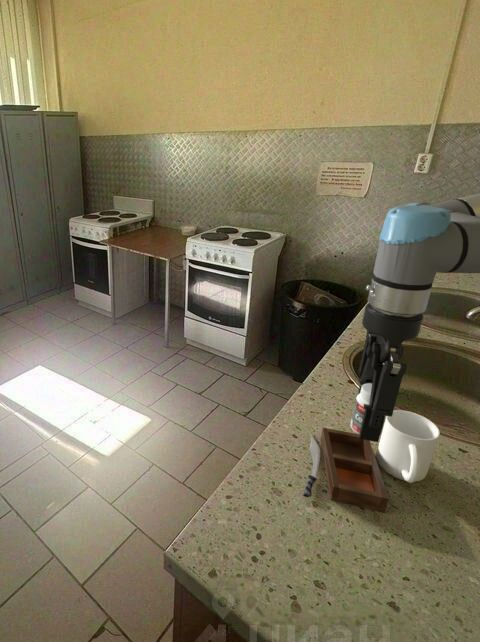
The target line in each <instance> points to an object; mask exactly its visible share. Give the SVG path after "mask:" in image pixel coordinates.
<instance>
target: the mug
mask: <svg viewBox="0 0 480 642" xmlns="http://www.w3.org/2000/svg"><path fill="white" fill-rule="evenodd" d="M440 436H441V432H440V429H439V427H438V426H437V425H436V424H435V423H434V422H433V421H432V420H431V419H429V418H427V417H425V416H423V415H420V414H419V413H417V412H416V413H415V412H413V411H408V410H402V409H397V410H396V409H395V410H393V414H392V416H391V417H390V416H386V418H385V422H384V425H383V429H382V432H381V435H380V438H379V441H378V447H377V450H376V462H377V464H378V466H380V467H381V468H382V469H383V470H384V471H385V472H386V473H387V474H389V475H390V476H392V477H394V478H396V479H398V480H401V481H404V482H407V483H410V484H413V483H415V482H421V481H422V480H424V479H425V478H426V476H427V474H428V472H429V470H430V466H431V464H432V460H433V457H434V454H435V451H436V448H437V445H438V442H439V439H440Z"/></svg>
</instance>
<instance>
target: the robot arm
mask: <svg viewBox="0 0 480 642" xmlns="http://www.w3.org/2000/svg"><path fill="white" fill-rule="evenodd" d="M381 228H382V229H381V231H380V234H379V238H378V239H379V242H378V247H377V252H376V257H375V262H374V267H373V273H372V277H371V284H367V285H366V286H365V290H366V292H368V296H367V302H368V303H367V304H366V305H365V308H364V312H363V317H362V321H361V322H362V323H361V324H362V326H363V328H364V329H365V330H366V335H365V342H364V345H363V350H362V355H361V358H360V362H359V363H360V364H359V368H358V373H357V376H358V377H360V378H359V381H358V382H359V388H358V393H357V395H358V394H360V391H361V387H362V385H364V384H367V383H372V388H371V395H370V402H369V405H367V404H364V409H365V413H364V417H363V421H362V425H361V429H360V433H359V438H360V439H364V440H369V441H370V442H375V443H379V441H380V438H381V435H380V433H381V434H382V432H381V429H382V425H383V421H384V418H385V416H390V417H391V416H392V414H393V411H395V407H396V402H397V398H398V396H399V392H400V387H401V384H402V381H403V377H404V375H405V373H406V371H407V369H408V365H407V363H406V362H401V358H402V357H403V356H404V346H403V343H404V342H406V341H409V340H413V339H416V338H417V337H418V336H419V334H420V331H421V326H422V324H423V320H424V315H423V313H425V312H426V311H427V308H428V304H429V301H430V296H431V292H432V288H433V284H434V280H435V279H436V275H437V273H438V274H480V192H479V193H476V194H471V195H467V196H464V197H459V198H454V199H449V200H446V201H442V202H438V203H428V202H411V203H407V204H405V205H398V206H394V207H393V208H390V209H389V211H388V212H387V213H386V216H385V219H384V221H383V225H382V227H381ZM385 419H386V418H385ZM383 426H384V425H383ZM382 430H383V429H382Z"/></svg>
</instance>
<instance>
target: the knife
mask: <svg viewBox="0 0 480 642" xmlns="http://www.w3.org/2000/svg"><path fill="white" fill-rule="evenodd" d="M309 435H310V445H309V452H310V455H311V458H312V469H311V473H310V474H309V475H308V481H307V483H306V484H305V491H304V493H303V494H302V497H304V498H311V497H312V496H313V494H312V488H313V485H314V483H315V482H316V481H318V478H317V475H318V471H319V466H320V459H321V448H320V446H319V444H318V443H317V441H316V439H315V437H314V436H313V434H312V432H309Z"/></svg>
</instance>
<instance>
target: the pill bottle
mask: <svg viewBox="0 0 480 642" xmlns="http://www.w3.org/2000/svg"><path fill="white" fill-rule="evenodd" d="M361 386H362V387H361V391H360V394H358V393H357V396H356V398H355V402H354V406H353V411H352V414H351V419H350V422H349V423H350V424H349V425H350V429H351V430H352V431H353V432H354V433H355V434H359V433H360V429H361V425H362V421H363V417H364V413H365V409H364V404H367V405H369V402H370V395H371V388H372V383H367V384H364V385H361ZM385 420H386V416H385V418H384V421H383V425H382V429H381V433H380V436H381V435H382V431H383V427H384V423H385Z"/></svg>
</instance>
